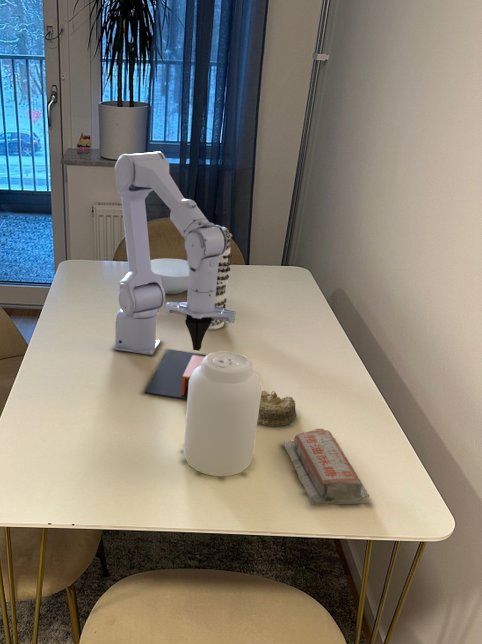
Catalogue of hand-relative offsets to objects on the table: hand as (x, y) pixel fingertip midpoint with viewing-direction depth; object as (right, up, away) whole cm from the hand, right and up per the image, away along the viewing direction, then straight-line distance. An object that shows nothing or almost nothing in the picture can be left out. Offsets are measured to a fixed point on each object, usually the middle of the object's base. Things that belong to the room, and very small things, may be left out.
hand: (197, 348), depth 138 cm
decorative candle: (+6, +10, +34) cm, 36 cm away
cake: (+15, -14, -6) cm, 21 cm away
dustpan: (-1, -4, +5) cm, 6 cm away
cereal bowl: (-3, +23, +54) cm, 59 cm away
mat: (0, -6, +7) cm, 9 cm away
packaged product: (+21, -25, -23) cm, 40 cm away
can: (+2, -22, -20) cm, 30 cm away
